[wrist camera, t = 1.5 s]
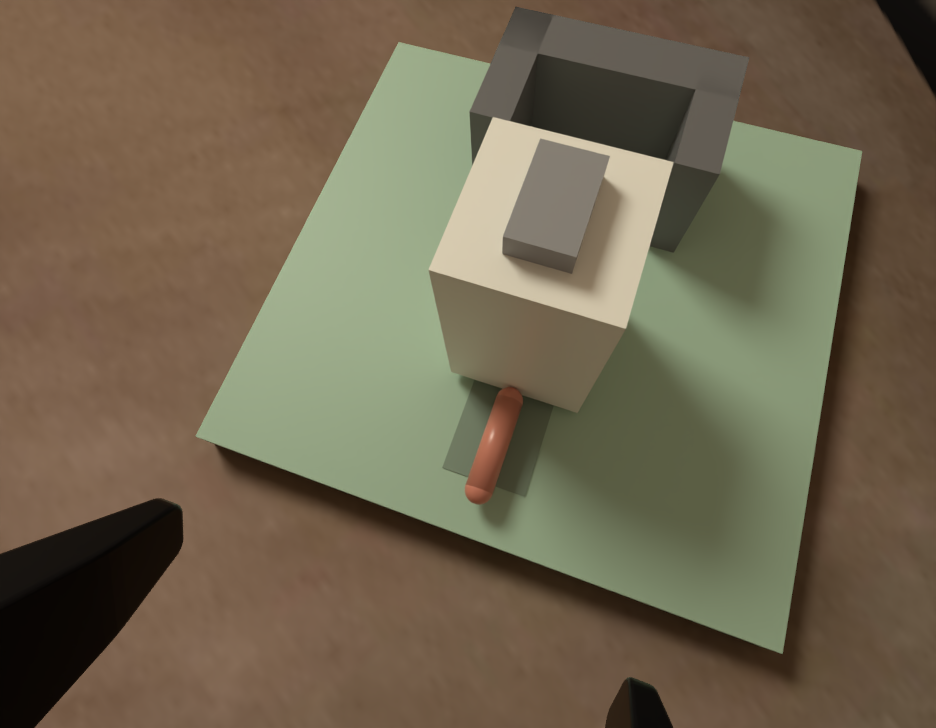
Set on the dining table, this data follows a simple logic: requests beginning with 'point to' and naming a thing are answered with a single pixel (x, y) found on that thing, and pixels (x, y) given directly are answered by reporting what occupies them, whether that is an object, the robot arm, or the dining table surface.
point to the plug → (541, 271)
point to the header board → (613, 394)
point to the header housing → (618, 100)
